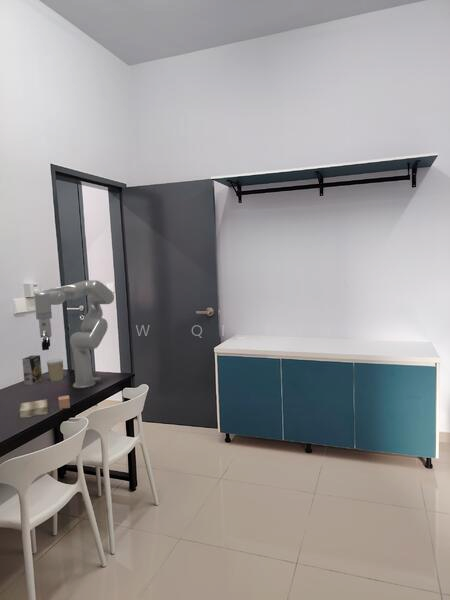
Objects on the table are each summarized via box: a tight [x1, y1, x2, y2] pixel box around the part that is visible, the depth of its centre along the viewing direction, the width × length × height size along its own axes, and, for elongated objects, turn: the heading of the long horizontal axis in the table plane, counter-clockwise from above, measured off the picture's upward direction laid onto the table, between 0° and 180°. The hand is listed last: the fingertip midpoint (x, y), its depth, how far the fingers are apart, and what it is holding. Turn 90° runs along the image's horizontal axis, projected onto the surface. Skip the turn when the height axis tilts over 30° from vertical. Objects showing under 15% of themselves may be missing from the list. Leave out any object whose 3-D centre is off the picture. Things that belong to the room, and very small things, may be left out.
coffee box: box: [21, 354, 43, 386], centre depth 259 cm, size 9×6×16 cm
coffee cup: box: [46, 358, 64, 382], centre depth 264 cm, size 9×9×12 cm
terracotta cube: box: [57, 395, 71, 410], centre depth 215 cm, size 5×5×5 cm
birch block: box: [19, 398, 49, 419], centre depth 210 cm, size 12×12×4 cm
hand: (46, 348), depth 224 cm, fingers open, 9 cm apart
